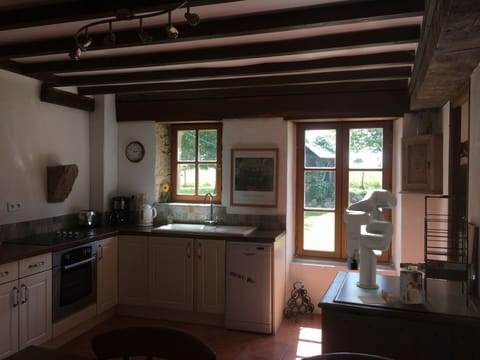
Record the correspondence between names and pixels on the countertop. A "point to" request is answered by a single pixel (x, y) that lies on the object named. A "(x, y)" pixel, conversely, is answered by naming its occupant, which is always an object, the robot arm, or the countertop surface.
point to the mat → (372, 299)
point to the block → (351, 262)
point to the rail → (387, 296)
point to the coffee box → (411, 287)
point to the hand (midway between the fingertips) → (352, 268)
